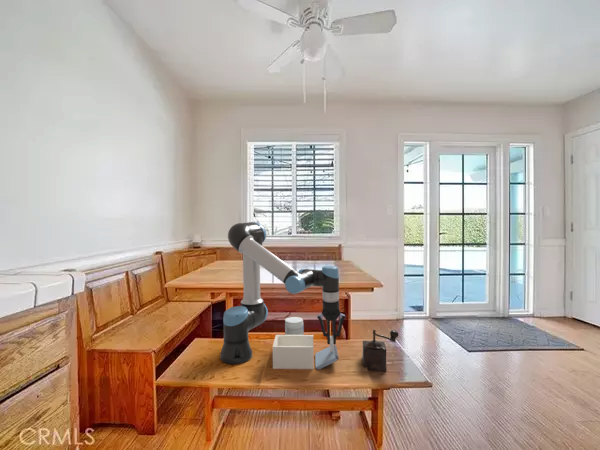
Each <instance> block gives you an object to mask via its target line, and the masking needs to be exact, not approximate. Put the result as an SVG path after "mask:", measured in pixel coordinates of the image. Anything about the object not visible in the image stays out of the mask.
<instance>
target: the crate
mask: <svg viewBox="0 0 600 450" xmlns="http://www.w3.org/2000/svg"><path fill="white" fill-rule="evenodd" d="M314 351H315V349H314V334H304V335H285V334H275V336H274V340H273V344H272V369H274V370H277V369H279V370H280V369H281V370H314V369H315V367H314V365H315V364H314V363H315V360H314V359H315V358H314V357H315V356H314V355H315V354H314V353H315V352H314Z"/></svg>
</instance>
